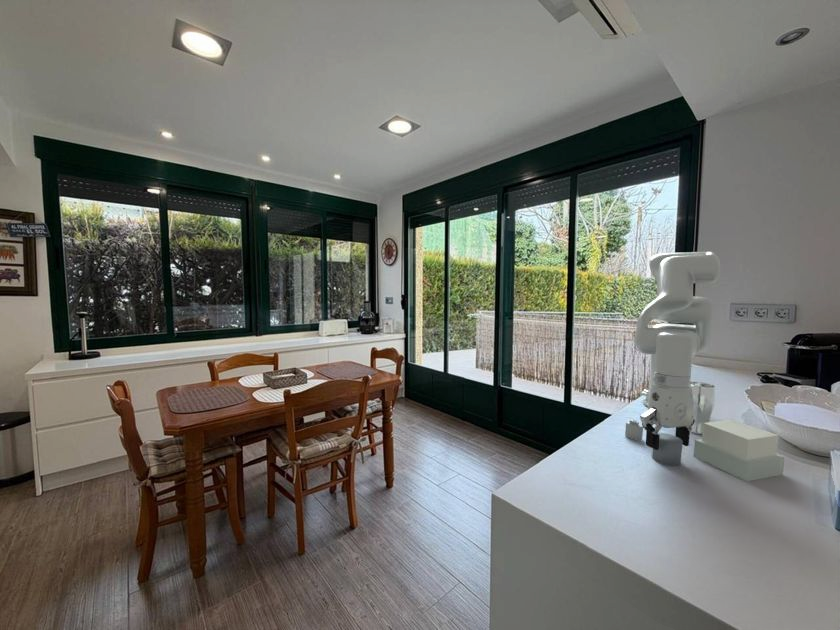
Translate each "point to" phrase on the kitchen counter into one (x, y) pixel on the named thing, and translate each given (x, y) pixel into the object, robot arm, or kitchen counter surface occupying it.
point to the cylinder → (668, 450)
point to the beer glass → (702, 404)
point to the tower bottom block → (739, 462)
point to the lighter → (634, 430)
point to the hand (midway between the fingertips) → (667, 445)
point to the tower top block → (740, 439)
